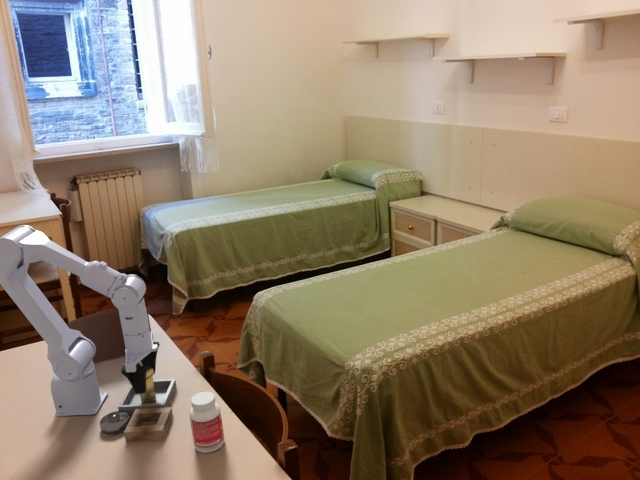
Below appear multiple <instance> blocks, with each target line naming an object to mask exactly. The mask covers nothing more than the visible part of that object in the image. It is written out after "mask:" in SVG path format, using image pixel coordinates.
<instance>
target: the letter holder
mask: <svg viewBox="0 0 640 480" xmlns="http://www.w3.org/2000/svg"><path fill="white" fill-rule="evenodd" d="M146 311H147V317H148V322H149V328H150V332H152V327H151V324H150V317H149V309H148V308H147V307H146ZM68 327H69V328H70V329H72V330H78V331H80V332H81V334H82V335H83V336H84V337H86V338H88V339H89V340H91V341H92V342H93V343H94V345H95V347H96V353H95V356H94V357H93V358H92V359H93V364H94V365H95V364H98V363H102V362H105V361H110V360H114V359H119V358H123V357H126V354H125V349H126V347H125V342H124V337H123V331H122V326H121V321H120V316H119V310H118V308H117V307H116V308H113V309H108V310H107V309H106V310H102V311H99V312H98V311H97V312H95V313H91V314H87V315H84V316H82V317H79V318H76V319H74V320H71V321H70V322H68Z"/></svg>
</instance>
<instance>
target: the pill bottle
mask: <svg viewBox="0 0 640 480" xmlns="http://www.w3.org/2000/svg"><path fill="white" fill-rule="evenodd" d="M190 401H191V407H190V410H189V412H188V413H189V414H188V415H189V420H190V428H191V433H192V440H193V446H194V448H195V449H196V451H198V452H200V453H203V454H204V453H205V454H206V453H212V452H216V451H218V449H220V448H221V447H223V445H224V443H225V434H224V427H223V418H222V413H221V407H220V405H219V404H218V402H216V397H215V394H214V393H213V392H211V391H202V392H198V393H196V394H194V395H193V396H192V397H191V399H190Z"/></svg>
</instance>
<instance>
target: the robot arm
mask: <svg viewBox="0 0 640 480" xmlns="http://www.w3.org/2000/svg"><path fill="white" fill-rule="evenodd" d="M38 262H45V263H47V264H51V265H52V266H54V267H57V268H58V269H62V270H64V271H66V272H68V273H70V274H73V275H75V276H78V278H79V280H80V283H81V284H82V285H83V286H86V287H88V288H90V289H91V290H93V291H95V292H98V293H99V294H101V295H103V296H105V297H107V298H109V299H110V300H111V302H112V303H111V304H113V306H114V307H115V308H116V309H117V308H118V310H119V316H120V321H121V326H122V331H123V337H124V342H125V347H126V349H125V354H126V356H125V364H123V365H122V367H121V368H120V372H121V374H122V375H123V376H124V377H125V378H126V379H127V380H128V382H129V383H130V384H131V385H132V387H133V389H134V390H135V392H136V393H145V392H146V372H147V369H148V367H151V368H153V372H154V374H153V375H155V373H156V367H157V356H158V352H159V351H158V350H159V347H160V342H158V341H154V334H153V331H151V332H150V328H149V322H150V321H149V322H148V317H147V311H146V308H147V307H146V302H145V298H144V296H145V294H146V291H147V286H146V283H145V281H144V280H143V278H141V277H140V276H138V275H137V274H132V273H131V274H126V273H124V272H123V273H121V272H119V271H118V270H115V269H113V268H112V267H110V266H108V263H107V262H105V261H103V260H102V261H99V260H94V261H93V260H92V261H86V260H85V259H83V258H81V257H79V256H78V255H76V254H75V253H73V252H71V251H69V250H67V249H66V248H64V247H63V246H60V244H58V243H56V242H54V241H53V240H51V239H49V238H48V236H47V235H46V234H45V233H44V232H42V231H40V230H37V229H35V227H33V226H31V225H27V224H20V225H17V226H16V227H14V228H13V229H12V230H10V231H8V232H7V233H5V234H4V235H2V236H1V237H0V285H1V287H2V288H3V290H4V291H5V292H6V293H7V294H8V296H9V297H10V299H12V301H13V303H14V304H15V305H16V306H17V308H19V310H20V311H21V312H22V314H23V316H25V318H27V321H29V323H30V324H31V325H32V326H33V328H34V329H35V330H36V332H37V333H38V335H40V336H41V338H42V339H43V341H44V342H45V343H46V344H47V354H46V355H47V356H46V357H47V360H48V361H49V362H50V364H51V367H52V371H53V373H54V374H53V376H52V377H51V382H50V391H51V392H50V393H51V396H52V401H53V405H54V408H55V413H54V416H55V417H70V416H85V415H87V416H88V415H89V416H91V415H96V414H98V411H99V410H100V408H101V407H102V405H103V404H104V401H105V400H106V399H107V397H108V395H109V394H108V392H101V391H100V387H99V382H98V378H97V373H96V369H95V363H94V364H93V359H92V358H93V357H94V356H95V353H96V347H95V345H94V343H93V342H92V341H91V340H89V339H88V338H86V337H84V336H83V335H82V334H81V332H80V331H78V330H72V329H70V328H69V325H68V324H67V323H66V322H65V321H64V319H63V318H62V317H61V315H60V314H59V312H58V311H57V310H56V309H55V307H54V306H53V305H52V303H50V302H49V300H48V298H47V297H46V296H45V294H44V293H43V292H42V291H41V289H40V288H39V287H38V285H37V284H36V282H35V281H34V280H33V278H32V277H31V276H30V275H29V274H28V269H29V266H30V264H33V263H38Z"/></svg>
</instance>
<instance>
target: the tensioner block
mask: <svg viewBox="0 0 640 480" xmlns="http://www.w3.org/2000/svg"><path fill="white" fill-rule="evenodd" d="M130 417H131V418H129V420H130V421H129V423H128V425H127V427H126V429H125V431H123V434H124V435H123V436H124V440H125V443H129V442H130V443H131V442H147V441H148V442H151V441H164V440H165V437H166V435H167V433H168V430H169V428H170V425H171V422H172V419H173V418H174V414H173V407H171V406H169V407H167V408H148V409H135V411H134V413H133V415H132V416H130ZM143 423H156V424H155V425H143ZM142 425H143V426H142Z"/></svg>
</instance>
